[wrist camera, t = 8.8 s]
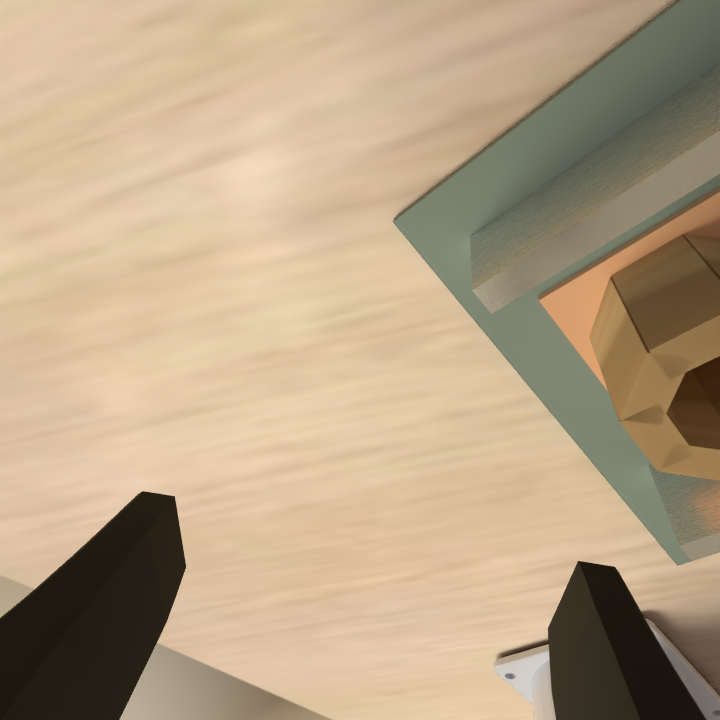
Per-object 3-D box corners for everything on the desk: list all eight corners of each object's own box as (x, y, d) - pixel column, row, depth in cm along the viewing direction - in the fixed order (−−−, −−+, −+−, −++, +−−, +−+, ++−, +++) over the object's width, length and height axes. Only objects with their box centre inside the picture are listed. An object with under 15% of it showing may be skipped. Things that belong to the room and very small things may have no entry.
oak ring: (812, 334, 17) (900, 424, 13) (644, 412, 19) (683, 504, 16) (739, 200, 15) (818, 265, 12) (563, 303, 17) (588, 381, 14)
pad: (832, 333, 17) (837, 338, 17) (634, 423, 20) (636, 428, 19) (746, 169, 15) (750, 173, 15) (537, 295, 18) (538, 300, 17)
